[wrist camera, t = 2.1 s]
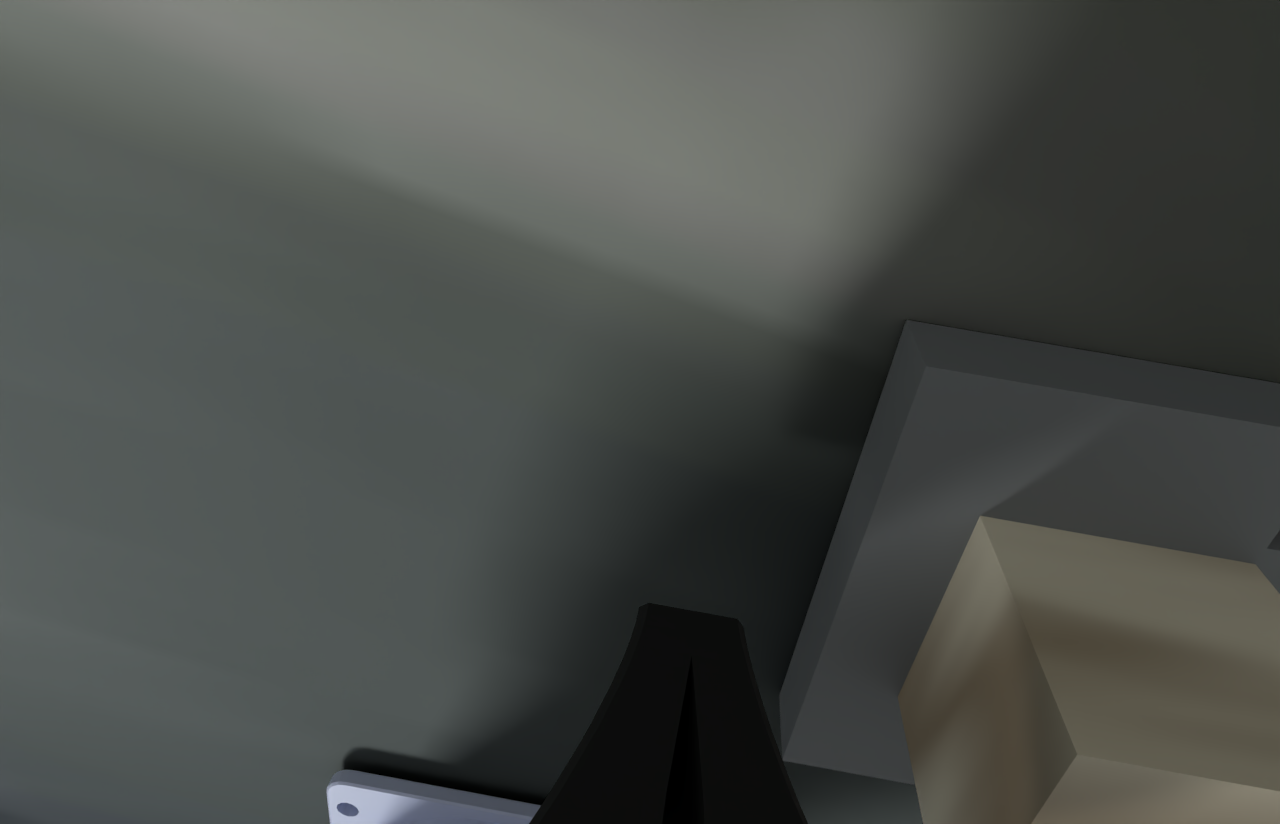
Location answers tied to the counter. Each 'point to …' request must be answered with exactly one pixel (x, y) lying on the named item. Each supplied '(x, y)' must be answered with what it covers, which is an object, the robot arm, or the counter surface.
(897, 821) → the counter surface
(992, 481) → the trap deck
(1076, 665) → the maple block
